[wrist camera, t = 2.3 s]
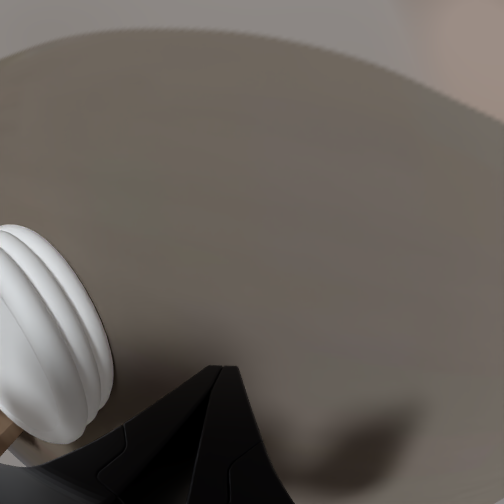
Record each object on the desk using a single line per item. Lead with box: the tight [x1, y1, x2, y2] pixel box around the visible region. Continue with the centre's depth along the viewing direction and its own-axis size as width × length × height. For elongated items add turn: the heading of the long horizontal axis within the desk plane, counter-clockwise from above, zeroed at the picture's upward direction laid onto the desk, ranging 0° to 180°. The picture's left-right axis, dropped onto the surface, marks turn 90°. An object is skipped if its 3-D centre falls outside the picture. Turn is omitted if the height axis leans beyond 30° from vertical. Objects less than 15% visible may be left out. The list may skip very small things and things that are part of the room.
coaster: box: [0, 224, 114, 444], centre depth 9 cm, size 10×10×4 cm
